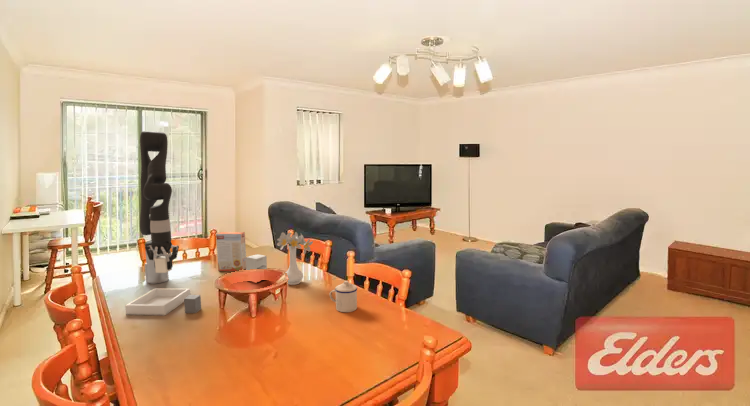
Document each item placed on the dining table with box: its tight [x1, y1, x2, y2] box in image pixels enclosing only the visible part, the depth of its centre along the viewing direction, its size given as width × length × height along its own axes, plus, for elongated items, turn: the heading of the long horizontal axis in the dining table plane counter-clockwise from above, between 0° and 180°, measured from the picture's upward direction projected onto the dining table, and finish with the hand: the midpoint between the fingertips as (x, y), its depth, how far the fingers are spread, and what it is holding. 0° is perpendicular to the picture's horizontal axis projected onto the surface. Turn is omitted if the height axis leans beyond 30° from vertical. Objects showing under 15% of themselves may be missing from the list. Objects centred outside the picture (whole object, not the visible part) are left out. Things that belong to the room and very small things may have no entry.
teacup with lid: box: [328, 280, 358, 313], centre depth 165 cm, size 12×9×12 cm
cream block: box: [155, 256, 173, 273], centre depth 172 cm, size 4×4×6 cm
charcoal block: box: [183, 294, 202, 314], centre depth 163 cm, size 4×4×6 cm
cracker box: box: [215, 231, 247, 272], centre depth 219 cm, size 14×6×21 cm, turn 84°
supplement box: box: [245, 254, 268, 270], centre depth 201 cm, size 7×7×13 cm
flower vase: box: [276, 231, 314, 286], centre depth 196 cm, size 13×18×25 cm
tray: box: [124, 287, 191, 316], centre depth 169 cm, size 16×20×4 cm
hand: (163, 269), depth 172 cm, fingers closed on cream block, 4 cm apart
